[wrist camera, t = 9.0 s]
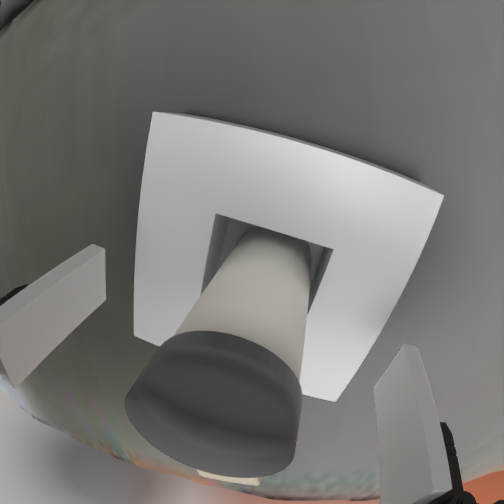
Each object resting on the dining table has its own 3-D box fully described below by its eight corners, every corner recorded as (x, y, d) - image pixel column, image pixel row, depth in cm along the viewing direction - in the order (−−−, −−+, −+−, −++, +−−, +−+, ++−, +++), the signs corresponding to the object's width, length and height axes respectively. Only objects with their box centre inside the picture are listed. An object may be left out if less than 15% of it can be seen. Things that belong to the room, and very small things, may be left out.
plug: (226, 281, 19) (131, 441, 8) (242, 209, 17) (118, 352, 6) (299, 304, 18) (265, 488, 8) (325, 235, 16) (324, 422, 6)
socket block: (157, 307, 22) (133, 335, 19) (184, 113, 16) (153, 111, 13) (335, 365, 20) (335, 401, 17) (420, 182, 15) (444, 195, 11)
